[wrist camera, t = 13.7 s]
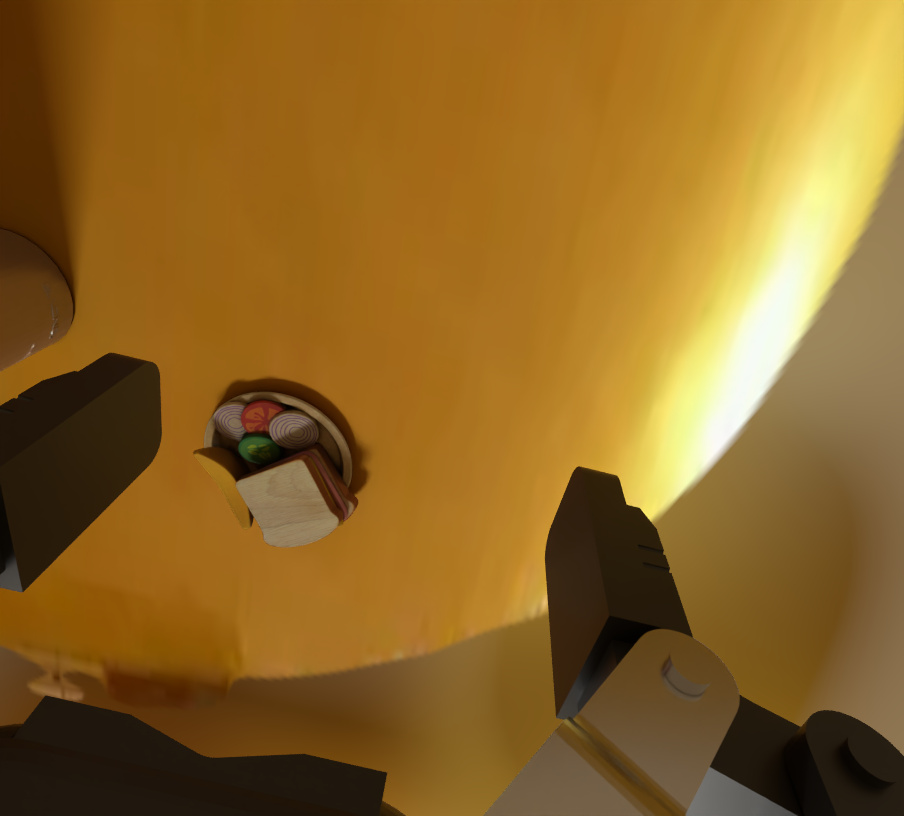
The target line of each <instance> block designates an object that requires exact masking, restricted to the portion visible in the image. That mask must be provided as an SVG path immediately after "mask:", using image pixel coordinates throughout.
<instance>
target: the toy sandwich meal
mask: <svg viewBox="0 0 904 816" xmlns="http://www.w3.org/2000/svg"><path fill="white" fill-rule="evenodd" d="M193 455H194V457H195V458H196V459H197V460H198V461H199V463H200V464H201V465H202V466H203V468H204V469H205V470H206V471H207V473H208V474H209V475H210V476H211V477H212V479H213V480H214V481H215V482H216V484H217V485H218V486H219V488H220V489H221V491H222V492H223V494H224V496H225V498H226V500H227V502H228V504H229V506H230V507H231V509H232V511H233V513H234V514H235V516H236V518H237V520H238V521H239V523H240V525H241V526H242V528H243V529H249V528H250V527H251V526H252V523H253V517H254V518H255V519H256V521H257V522H258V524H259V526H260V528H261V530H262V532H263V538H264V541H265V542H266V543H267V544H269V545H271V546H275V547H296V546H302V545H307V544H310V543H312V542H315V541H318V540H320V539H322V538H324V537H326V536H327V535H329V534H330V533H332V532H333V531H334V530H335V529H336V528H337V526H341V525H342V524H343V522H344V521H345V520H347V519H348V518H349V517H350V516H351V515H352V513H353V512H354V510H355V509H356V507H357V505H358V499H357V498H356V497H355V496H354V495H352V494H351V493H350V492H349V490H348V487H349V485H350V482H351V478H352V459H351V454H350V450H349V447H348V445H347V443H346V441H345V439H344V437H343V435H342V434H341V432H340V431H339V429H338V428H337V427H336V426H335V424H334V423H333V422H332V421H331V420H330V419H329V418H328V417H327V416H326V415H325V414H323V413H322V412H321V411H319V410H318V409H317V408H315V407H314V406H312V405H310V404H309V403H307V402H305V401H303V400H300V399H298V398H295V397H293V396H289V395H286V394H281V393H275V392H253V393H247V394H243V395H240V396H237V397H235V398H232V399H231V400H229V401H227V402H226V403H224V404H223V405H221V406H220V407H218V409H217V410H216V411H215V413H214V414H213V415H212V417H211V419H210V420H209V423H208V425H207V428H206V431H205V437H204V448H202V449H198V450H195V451H194V452H193Z"/></svg>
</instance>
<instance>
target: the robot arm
mask: <svg viewBox="0 0 904 816" xmlns="http://www.w3.org/2000/svg"><path fill="white" fill-rule="evenodd" d="M72 318H73V302H72V297H71V292H70V290H69V288H68V285H67V283H66V280H65V278H64V277H63V275H62V274H61V272H60V270H59V269H58V267H57V266H56V265H55V264H54V262H53V261H52V260H51V259H50V258H49V257H48V255H46V254H45V253H44V252H43V251H42V250H41V249H40V248H39V247H37V246H36V245H35V244H33V243H32V242H30V241H29V240H27V239H26V238H24V237H22V236H20V235H18V234H15V233H13V232H11V231H8V230H4V229H0V371H2V370H4V369H6V368H8V367H10V366H12V365H14V364H15V363H18V362H19V361H21V360H23V359H25V358H27V357H29V356H31V355H33V354H34V353H36V352H38V351H40V350H42V349H44V348H46V347H48V346H50V345H51V344H53V343H55V342H57V341H59V340H60V339H61V338H62V337H63V336H64V335H65V334H66V333H67V331H68V329H69V328H70V326H71V322H72ZM161 436H162V427H161V395H160V373H159V369H158V367H157V365H156V364H155V363H153V362H149V361H145V360H141V359H137V358H133V357H129V356H124V355H120V354H116V353H108V354H106V355H104V356H102V357H101V358H99V359H98V360H96V361H94V362H93V363H91V364H90V365H88V366H86V367H85V368H83V369H82V370H80V371H78V372H77V371H73V372H70V373H66V374H63V375H60V376H56V377H53V378H50V379H46V380H43V381H41V382H39V383H38V384H36V385H34V386H33V387H31V388H29V389H28V390H26V391H24V392H23V393H21V394H19V395H18V398H17V399H16V398H13V399H11V400H9V401H8V402H6V403H4V404H2V405H1V406H0V587H1V588H5V589H10V590H14V591H18V592H24V591H25V590H26V589H27V588H28V587H29V586H30V585H31V584H32V583H33V582H34V581H35V580H36V579H37V578H38V577H39V576H40V575H41V574H42V573H43V572H44V571H45V570H46V569H47V568H48V567H49V566H50V565H51V564H52V563H53V562H54V560H55V559H56V558H57V557H58V556H59V555H60V554H61V553H62V552H63V551H64V550H65V549H66V548H67V547H68V546H69V545H70V544H71V543H72V542H73V541H74V540H75V539H76V538H77V537H78V536H79V535H80V534H81V533H82V532H83V531H84V530H85V529H86V528H87V527H88V526H89V525H90V524H91V523H92V522H93V521H94V520H95V519H96V518H97V517H98V516H99V515H100V514H101V513H102V512H103V511H104V510H105V509H106V508H107V507H108V506H109V505H110V504H111V503H112V502H113V501H114V500H115V499H116V498H117V497H118V496H119V495H120V494H121V493H122V492H123V491H124V490H125V489H126V488H127V487H128V486H129V485H130V484H131V483H132V482H133V481H134V480H135V479H136V478H137V477H138V476H139V475H140V474H141V473H142V472H143V471H144V470H145V469H146V468H147V467H148V466H149V465H150V464H151V462H152V461H153V459H154V458H155V456H156V454H157V452H158V449H159V446H160V442H161ZM663 551H664V550H663V547H662V544H661V541H660V538H659V535H658V532H657V529H656V528H655V526H654V525H653V524H652V523H651V522H650V520H649V519H648V518H647V517H646V515H645V514H644V513H643V512H642V510H641V509H640V508H637V507H633V506H629V505H626V501H625V498H624V494H623V491H622V487H621V484H620V480H619V478H618V476H616V475H613V474H608V473H604V472H600V471H596V470H592V469H588V468H584V467H577V468H576V469H575V470H574V472H573V474H572V476H571V478H570V480H569V483H568V485H567V488H566V490H565V493H564V495H563V498H562V500H561V503H560V505H559V508H558V510H557V513H556V515H555V518H554V520H553V523H552V525H551V528H550V531H549V534H548V539H547V544H546V551H545V567H546V581H547V595H548V609H549V622H550V637H551V651H552V665H553V679H554V693H555V707H556V718H560V719H564V721H563V722H562V723H561V724H560V725H559V727H558V728H557V729H556V730H555V731H554V732H553V733H552V735H551V736H550V737H549V738H548V739H547V741H546V742H545V743H544V744H543V746H541V748H540V749H539V750H538V751H537V752H536V754H535V755H534V756H533V757H532V758H531V760H530V761H529V762H528V763H527V764H526V766H525V767H524V768H523V769H522V770H521V771H520V773H519V774H518V775H517V776H516V778H515V779H514V780H513V781H512V782H511V783H510V785H509V786H508V787H507V788H506V789H505V791H504V792H503V793H502V794H501V795H500V796H499V798H498V799H497V800H496V801H495V802H494V804H493V805H492V806H491V807H490V808H489V810H488V811H487V812H486V813H485V814H484V816H904V756H903V755H902V754H901V753H900V752H899V751H898V750H897V749H896V748H895V747H894V746H893V745H892V744H891V743H890V742H889V741H888V740H887V739H885V738H884V737H883V736H882V735H880V734H879V733H878V732H877V731H875V730H874V729H872V728H871V727H870V726H868V725H866V724H865V723H863V722H861V721H859V720H858V719H855V718H853V717H851V716H849V715H846V714H843V713H840V712H836V711H829V710H823V711H818V712H816V713H814V714H812V715H811V716H810V717H809V718H808V720H807V721H806V722H805V723H804V724H803V725H802V726H801V727H799V726H797V725H796V724H794V723H792V722H790V721H788V720H786V719H784V718H782V717H780V716H778V715H776V714H774V713H772V712H770V711H768V710H766V709H765V708H762V707H761V706H759V705H757V704H755V703H753V702H751V701H749V700H748V699H746V698H744V697H742V696H741V695H739V691H738V688H737V685H736V682H735V680H734V678H733V676H732V674H731V673H730V671H729V670H728V668H727V667H726V665H725V664H724V663H723V662H722V661H721V659H720V658H719V657H718V656H717V655H716V654H715V653H714V652H712V651H711V650H710V649H709V648H707V647H706V646H705V645H703V644H702V643H700V642H699V641H697V640H696V639H694V638H693V636H692V633H691V630H690V627H689V624H688V621H687V618H686V615H685V612H684V609H683V606H682V603H681V600H680V597H679V595H678V591H677V588H676V585H675V582H674V579H673V576H672V573H669V570H670V567H669V564H668V562H667V559H666V556H665V555H663ZM386 776H387V773H386V772H382V771H377V770H373V769H368V768H364V767H359V766H354V765H351V764H346V763H342V762H337V761H333V760H329V759H324V758H320V757H315V756H311V755H307V754H292V755H271V756H247V757H227V758H226V757H225V758H210V757H206V756H203V755H200V754H198V753H196V752H195V751H193V750H191V749H189V748H187V747H186V746H184V745H182V744H181V743H179V742H177V741H175V740H174V739H172V738H170V737H168V736H167V735H165V734H163V733H161V732H160V731H158V730H156V729H154V728H152V727H151V726H149V725H147V724H146V723H144V722H142V721H141V720H139V719H137V718H135V717H134V716H132V715H130V714H125V713H121V712H116V711H112V710H108V709H103V708H99V707H94V706H90V705H86V704H81V703H77V702H72V701H68V700H63V699H59V698H55V697H50V696H46V695H45V697H44V698H43V699H42V701H41V702H40V703H39V704H38V706H37V707H36V708H35V710H34V711H33V712H32V713H31V715H30V716H29V717H28V719H27V720H26V721H25V722H24V724H12V725H6V726H0V816H405V815H404V814H403V813H401V812H400V811H399V810H397V809H396V808H394V807H392V806H391V805H389V804H387V803H386V802H384V801H382V797H383V792H384V786H385V782H386Z"/></svg>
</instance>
